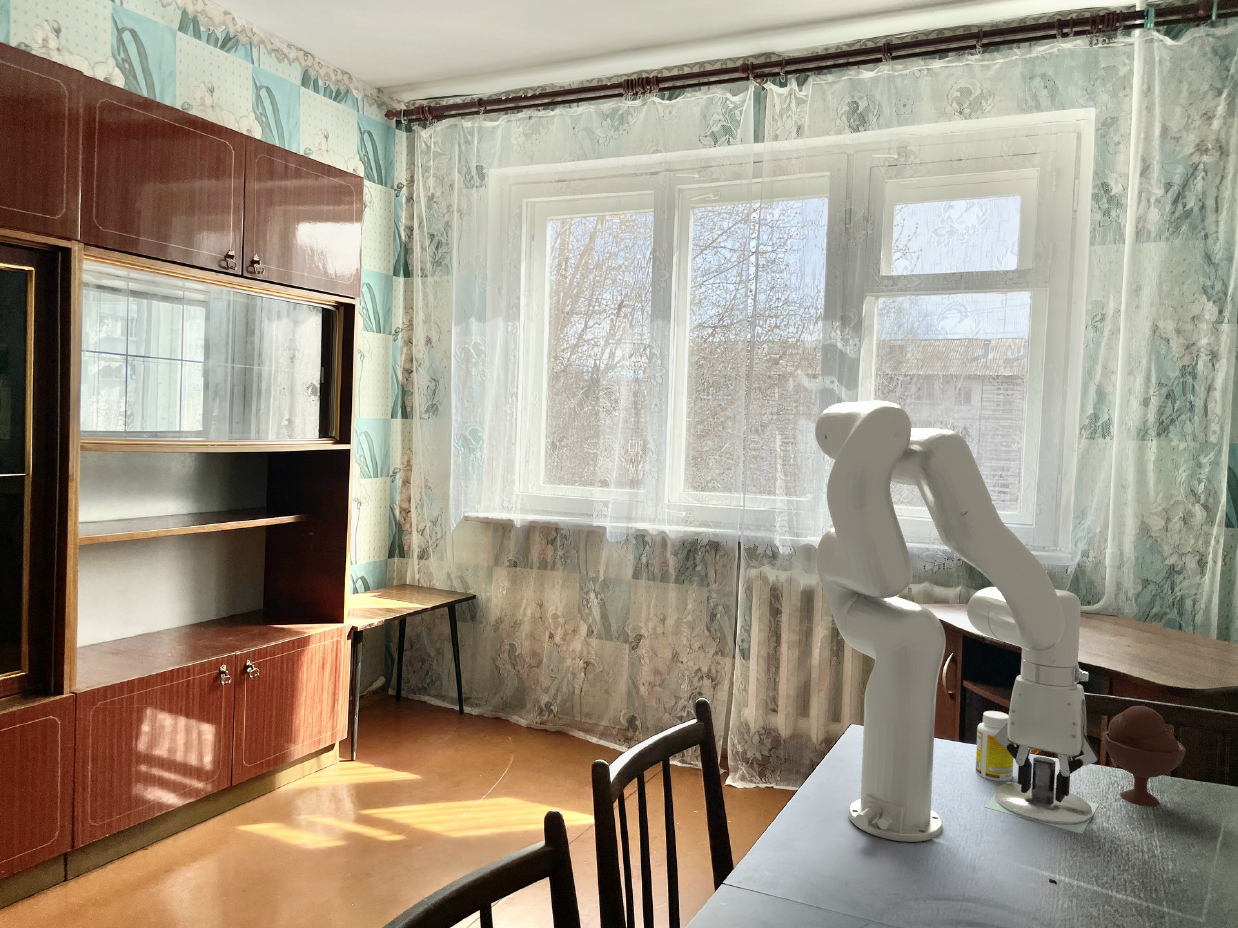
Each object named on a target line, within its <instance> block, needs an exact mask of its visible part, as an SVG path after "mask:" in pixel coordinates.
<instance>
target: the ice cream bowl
mask: <svg viewBox="0 0 1238 928" xmlns="http://www.w3.org/2000/svg"><path fill="white" fill-rule="evenodd" d="M1107 728H1108V729H1107V730H1105V731H1102V732H1101V735H1102V742H1103V745H1104V747H1105V749H1106V751H1107V753H1108V755H1109V756H1110V758H1111V759H1112V761H1114V762H1115V764H1116V765H1117V766H1118V767H1120V769H1123V770H1124V771H1125V772H1128V773H1129V774H1132V777H1133V778H1134V779H1133V780H1134V782H1133V788H1132V789H1128V790H1126V791H1123V792H1120V794H1119V796H1120V798H1121V799H1122V800H1124V801H1126V802H1128V803H1130V804H1133V805H1138V806H1142V807H1152V808H1153V807H1157V806H1159V805H1161V803H1160V800H1159V799H1158V798H1157V797H1155V795H1153V794H1151V793H1150V792H1149V791H1148V782H1149V780H1150V779H1151V778H1158V777H1160V776H1163V775H1165V774H1168V773H1170V772H1171V771H1173V770H1174V769H1176V768H1177V767H1179V766H1180V764H1181V763H1182V761H1183V760H1184V758H1185V755H1186V751H1187V749H1186V747H1185V746H1184V745H1183V744H1182V743H1181V742H1180V741H1179V740H1177V739H1176V738H1175V736H1174V735H1172V734H1171V733H1170V732H1168V731H1167V730H1166V721H1165V718H1163V716H1162V715H1161V714H1160V713H1159V712H1157V711H1156V710H1154V709H1153V708H1150V707H1148V706H1145V705H1133V706H1130V707H1128V708H1127V709H1125V710H1124V711H1123V712H1119V713H1118V714H1116V715H1115V716H1114V717H1113V718H1112V719H1111V720H1110V721H1109V724H1108V727H1107Z"/></svg>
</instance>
